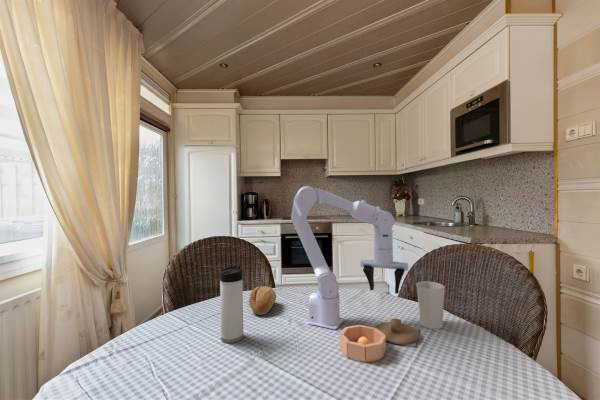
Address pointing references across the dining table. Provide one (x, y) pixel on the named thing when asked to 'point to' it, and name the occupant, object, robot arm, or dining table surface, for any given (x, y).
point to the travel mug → (231, 304)
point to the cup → (431, 304)
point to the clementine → (363, 340)
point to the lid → (398, 332)
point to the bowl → (361, 351)
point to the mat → (411, 343)
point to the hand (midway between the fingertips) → (384, 291)
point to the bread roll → (262, 299)
